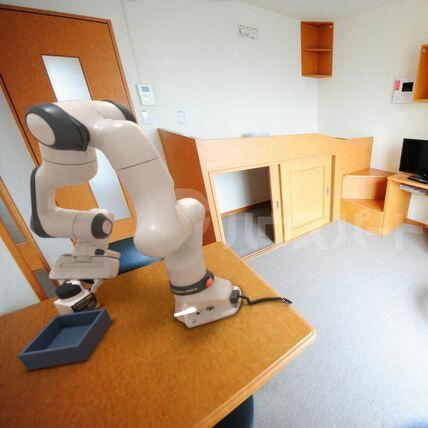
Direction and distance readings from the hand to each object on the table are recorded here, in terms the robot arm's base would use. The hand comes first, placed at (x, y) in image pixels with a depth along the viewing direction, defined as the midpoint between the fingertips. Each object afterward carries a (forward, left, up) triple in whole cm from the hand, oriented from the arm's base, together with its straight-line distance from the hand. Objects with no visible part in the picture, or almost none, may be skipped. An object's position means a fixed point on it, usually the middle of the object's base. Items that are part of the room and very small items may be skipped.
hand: (78, 292), depth 82 cm
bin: (-5, +15, -7) cm, 17 cm away
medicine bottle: (+1, +1, -7) cm, 8 cm away
